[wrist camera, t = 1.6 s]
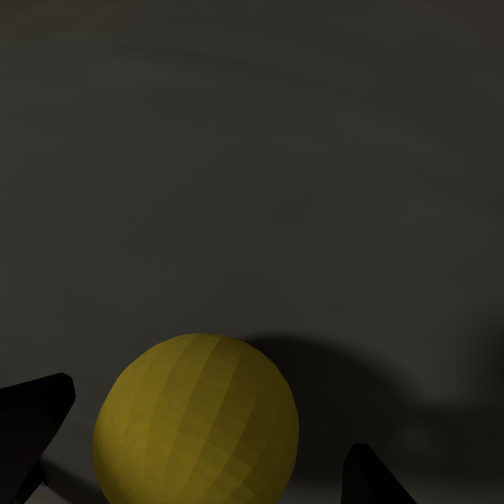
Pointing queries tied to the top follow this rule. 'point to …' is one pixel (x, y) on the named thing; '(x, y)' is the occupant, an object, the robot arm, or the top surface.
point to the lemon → (197, 426)
